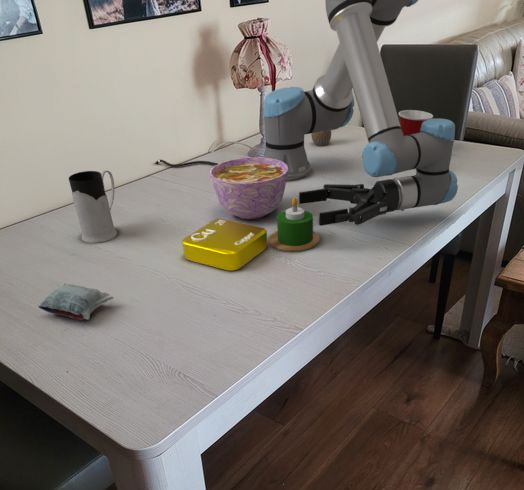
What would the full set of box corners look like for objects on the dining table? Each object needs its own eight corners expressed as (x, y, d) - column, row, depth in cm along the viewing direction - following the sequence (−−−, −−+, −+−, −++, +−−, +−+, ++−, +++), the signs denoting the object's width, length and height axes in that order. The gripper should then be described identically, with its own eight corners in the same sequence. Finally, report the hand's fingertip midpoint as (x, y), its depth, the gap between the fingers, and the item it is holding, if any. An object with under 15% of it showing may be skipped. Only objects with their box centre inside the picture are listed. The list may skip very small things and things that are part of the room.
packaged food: (69, 294, 112) (63, 273, 109) (116, 305, 108) (110, 283, 105) (40, 316, 106) (32, 295, 103) (88, 328, 102) (81, 306, 99)
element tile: (234, 273, 116) (232, 252, 113) (180, 258, 123) (177, 239, 120) (270, 245, 126) (270, 226, 123) (219, 233, 133) (217, 215, 130)
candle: (304, 228, 132) (304, 188, 126) (318, 242, 125) (318, 200, 119) (272, 234, 130) (271, 194, 124) (284, 248, 123) (283, 206, 117)
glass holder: (74, 240, 134) (57, 180, 125) (107, 218, 144) (94, 161, 135) (103, 244, 131) (88, 183, 122) (135, 221, 141) (123, 164, 133)
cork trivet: (258, 242, 128) (258, 240, 128) (291, 225, 135) (291, 224, 134) (296, 256, 121) (296, 254, 121) (329, 238, 128) (329, 236, 127)
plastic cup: (429, 157, 172) (434, 117, 165) (394, 156, 174) (398, 117, 167) (427, 147, 181) (432, 108, 174) (394, 146, 183) (398, 108, 176)
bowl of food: (198, 216, 142) (192, 172, 135) (250, 193, 154) (248, 152, 147) (252, 235, 131) (249, 189, 124) (305, 209, 142) (305, 165, 135)
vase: (333, 141, 191) (333, 115, 186) (328, 147, 186) (329, 120, 180) (314, 141, 193) (314, 115, 188) (309, 146, 188) (309, 120, 182)
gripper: (417, 230, 121) (328, 245, 117) (369, 193, 140) (292, 205, 136) (421, 197, 116) (329, 212, 112) (371, 164, 136) (292, 175, 132)
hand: (309, 208), depth 124 cm, fingers open, 13 cm apart
